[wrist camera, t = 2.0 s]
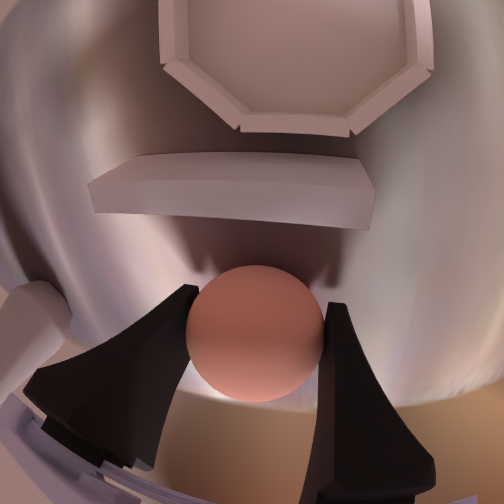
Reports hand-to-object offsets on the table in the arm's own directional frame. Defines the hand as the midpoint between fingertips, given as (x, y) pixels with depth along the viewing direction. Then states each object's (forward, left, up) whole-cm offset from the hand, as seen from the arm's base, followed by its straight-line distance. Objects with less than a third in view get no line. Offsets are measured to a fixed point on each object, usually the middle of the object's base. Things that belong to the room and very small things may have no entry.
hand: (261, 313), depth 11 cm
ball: (0, 0, -1) cm, 1 cm away
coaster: (-1, -10, -1) cm, 11 cm away
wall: (+1, -5, -1) cm, 6 cm away
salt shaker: (+17, +5, -2) cm, 18 cm away
